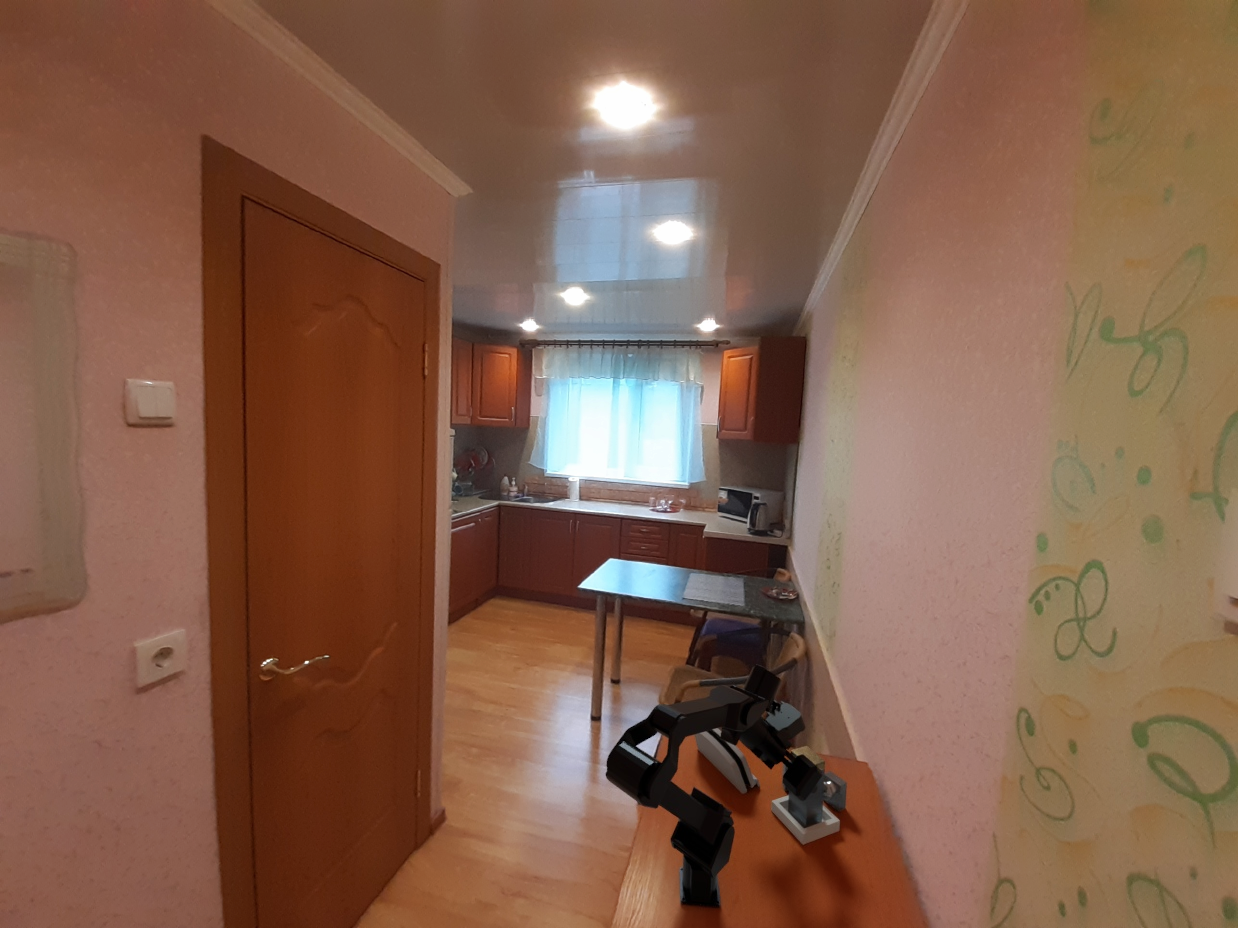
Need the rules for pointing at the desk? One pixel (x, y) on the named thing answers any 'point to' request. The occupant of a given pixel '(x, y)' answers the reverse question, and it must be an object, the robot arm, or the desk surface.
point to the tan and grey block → (813, 805)
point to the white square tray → (802, 834)
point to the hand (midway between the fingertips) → (798, 774)
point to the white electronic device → (726, 759)
